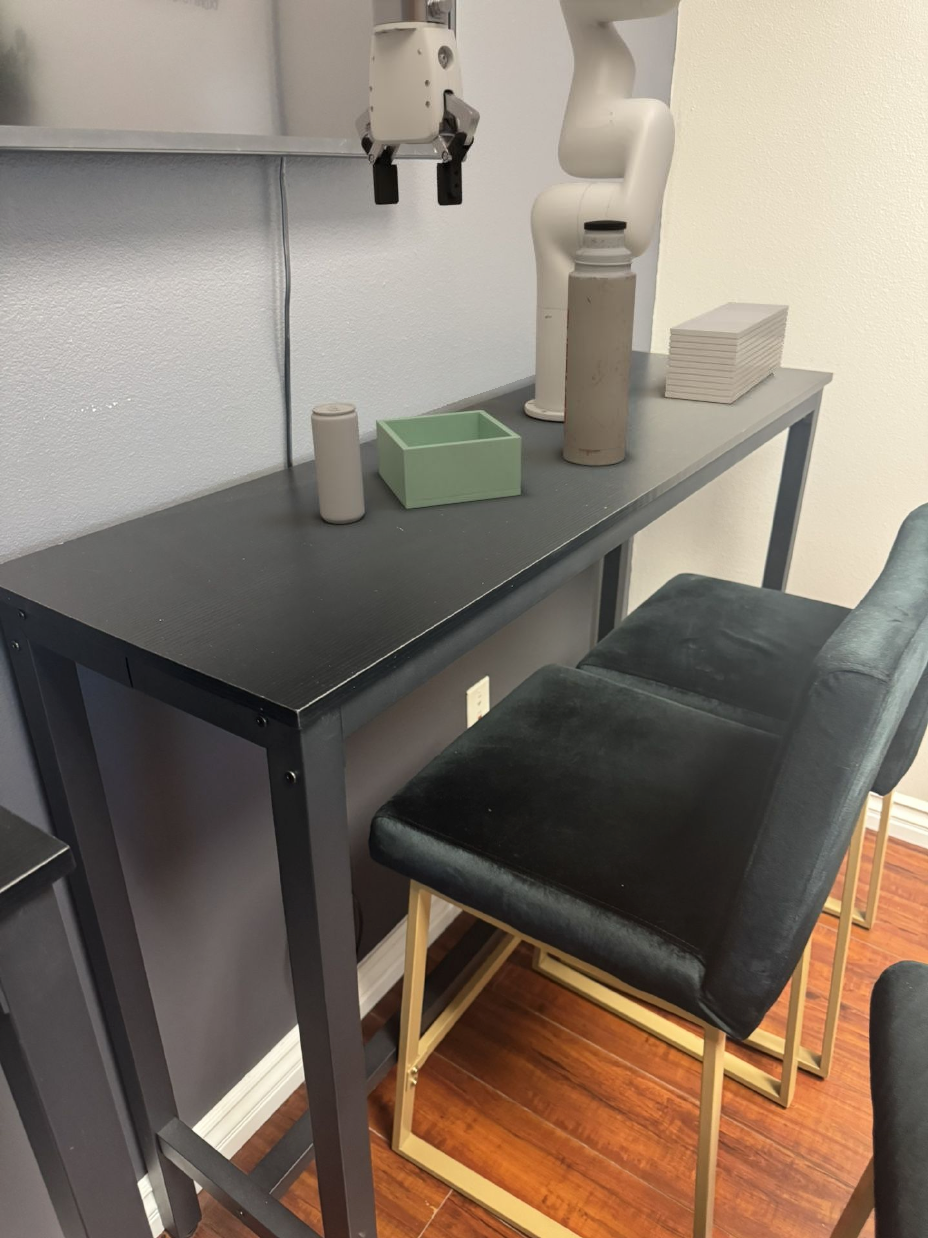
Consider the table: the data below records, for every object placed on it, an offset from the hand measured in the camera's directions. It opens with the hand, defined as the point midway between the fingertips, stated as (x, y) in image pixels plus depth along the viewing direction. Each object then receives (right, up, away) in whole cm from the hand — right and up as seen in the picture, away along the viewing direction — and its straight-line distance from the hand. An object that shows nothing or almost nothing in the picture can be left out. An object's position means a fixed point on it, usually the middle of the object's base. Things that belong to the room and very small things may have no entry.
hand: (417, 204), depth 97 cm
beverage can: (-8, -34, 0) cm, 35 cm away
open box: (+3, -29, +10) cm, 31 cm away
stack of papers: (+50, -4, +57) cm, 76 cm away
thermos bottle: (+22, -24, +19) cm, 38 cm away
